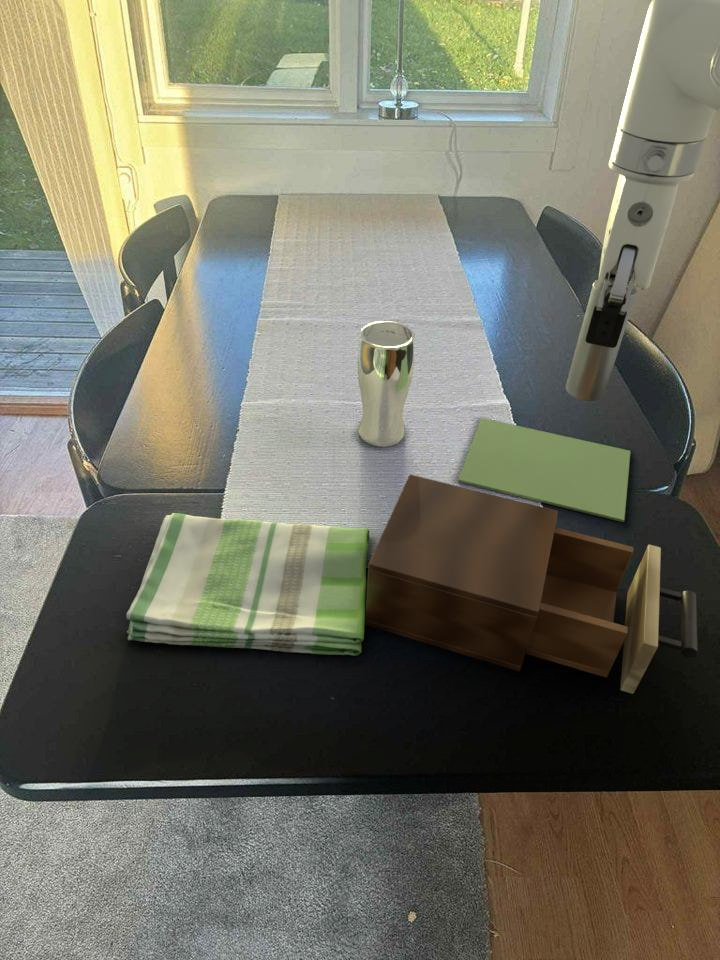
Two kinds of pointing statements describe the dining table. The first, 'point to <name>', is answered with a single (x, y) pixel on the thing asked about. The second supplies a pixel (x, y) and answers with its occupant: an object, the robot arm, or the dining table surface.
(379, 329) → the beer glass
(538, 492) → the placemat
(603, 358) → the silver metal cylinder
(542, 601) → the drawer
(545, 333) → the dining table surface
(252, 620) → the dish towel
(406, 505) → the cabinet
